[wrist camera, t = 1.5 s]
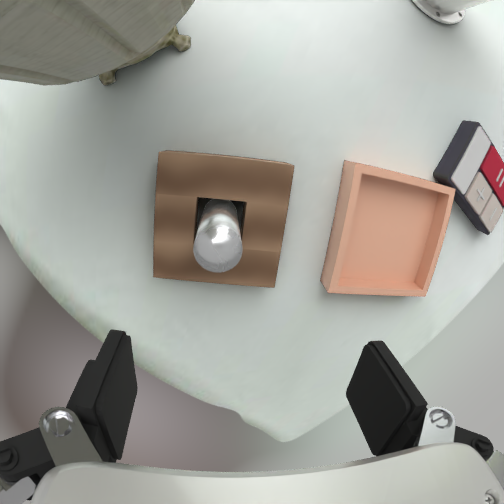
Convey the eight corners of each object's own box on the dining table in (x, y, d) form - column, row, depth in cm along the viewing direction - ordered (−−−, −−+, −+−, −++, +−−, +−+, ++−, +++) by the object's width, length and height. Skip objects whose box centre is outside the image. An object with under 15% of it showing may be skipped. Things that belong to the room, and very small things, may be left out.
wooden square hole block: (165, 150, 33) (158, 151, 29) (286, 162, 34) (294, 165, 31) (159, 263, 37) (153, 277, 34) (269, 273, 39) (274, 287, 35)
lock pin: (204, 196, 35) (194, 223, 24) (238, 199, 35) (245, 228, 24) (201, 228, 36) (191, 270, 25) (234, 231, 37) (239, 274, 26)
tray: (344, 160, 35) (355, 162, 31) (440, 184, 37) (455, 189, 33) (320, 280, 40) (328, 292, 37) (413, 285, 42) (425, 296, 39)
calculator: (491, 238, 37) (450, 180, 32) (474, 229, 41) (431, 174, 36) (518, 185, 34) (481, 121, 30) (501, 179, 38) (462, 119, 34)
